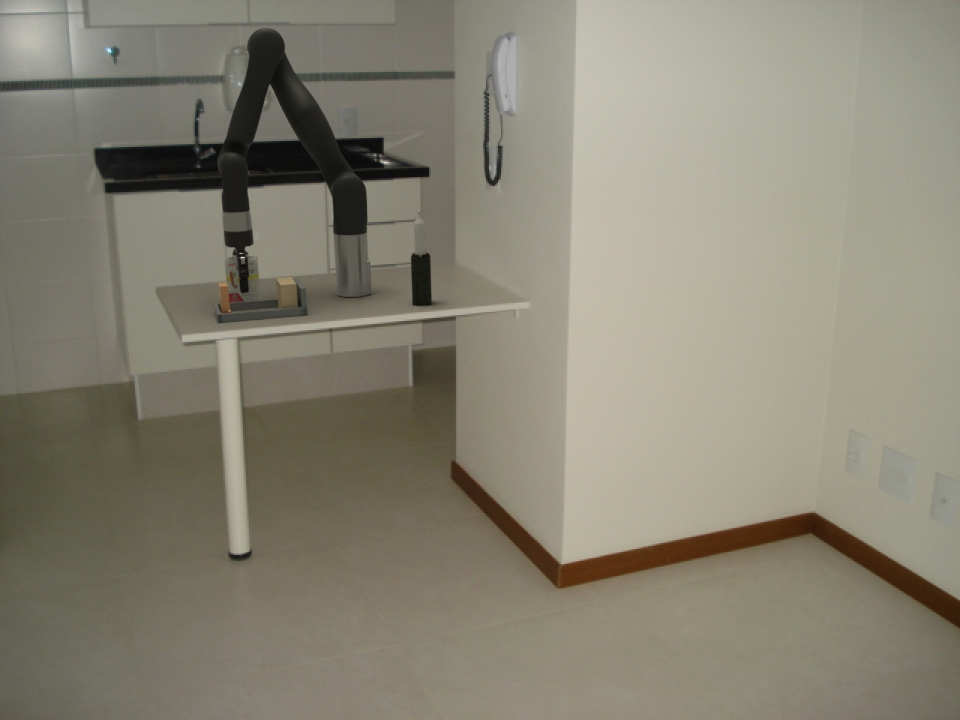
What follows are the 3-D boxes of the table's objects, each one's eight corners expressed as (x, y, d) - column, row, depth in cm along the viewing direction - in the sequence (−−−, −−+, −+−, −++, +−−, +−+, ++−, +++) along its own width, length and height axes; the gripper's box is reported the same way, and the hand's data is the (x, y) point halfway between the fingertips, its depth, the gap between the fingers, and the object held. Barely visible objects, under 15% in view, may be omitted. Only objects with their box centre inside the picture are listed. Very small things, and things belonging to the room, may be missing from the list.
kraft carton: (293, 306, 268) (291, 277, 265) (298, 314, 259) (296, 283, 257) (278, 307, 266) (276, 278, 264) (282, 315, 258) (280, 285, 256)
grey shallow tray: (299, 303, 270) (297, 278, 268) (307, 314, 258) (305, 288, 256) (214, 311, 263) (212, 285, 261) (218, 322, 251) (216, 295, 249)
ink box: (227, 303, 269) (223, 260, 266) (228, 299, 274) (224, 257, 271) (260, 301, 271) (256, 258, 267) (260, 297, 275) (257, 255, 272)
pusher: (228, 310, 263) (225, 280, 261) (231, 319, 254) (228, 288, 251) (220, 310, 262) (217, 280, 260) (223, 320, 253) (220, 288, 251)
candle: (431, 300, 271) (429, 208, 264) (431, 305, 266) (428, 211, 259) (412, 301, 271) (409, 208, 264) (412, 305, 266) (409, 211, 259)
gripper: (255, 231, 261) (260, 294, 266) (249, 223, 274) (254, 283, 279) (225, 233, 259) (231, 297, 264) (221, 225, 272) (227, 286, 277)
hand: (243, 290), depth 272 cm, fingers closed on ink box, 5 cm apart
